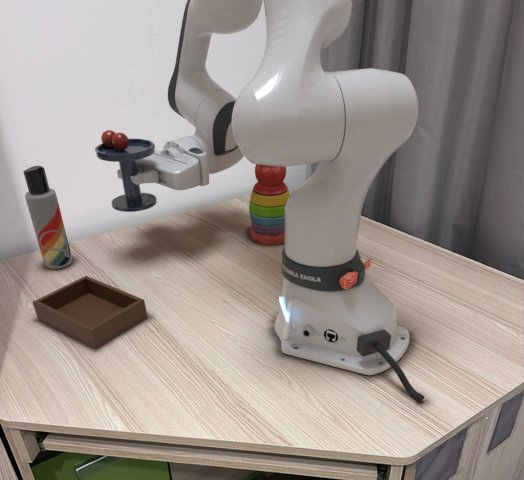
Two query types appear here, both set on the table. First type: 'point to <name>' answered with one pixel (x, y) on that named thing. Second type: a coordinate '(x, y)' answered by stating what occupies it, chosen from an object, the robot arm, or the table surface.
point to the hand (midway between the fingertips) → (126, 177)
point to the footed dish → (129, 174)
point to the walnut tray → (90, 311)
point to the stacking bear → (268, 205)
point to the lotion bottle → (47, 219)
